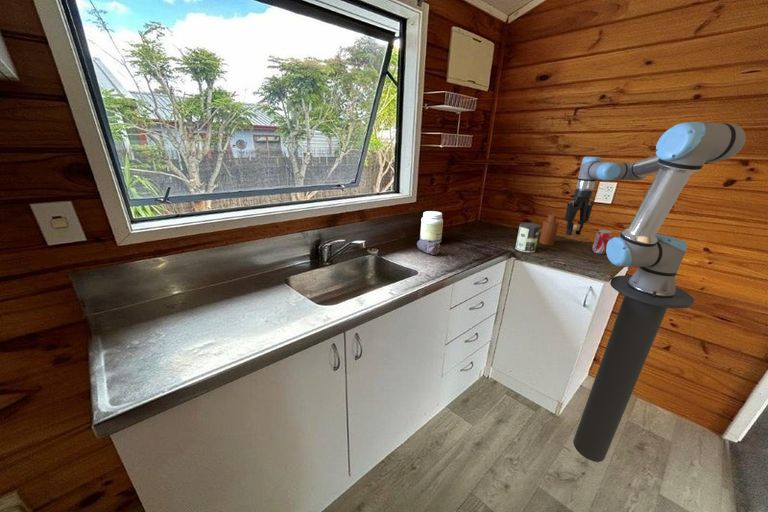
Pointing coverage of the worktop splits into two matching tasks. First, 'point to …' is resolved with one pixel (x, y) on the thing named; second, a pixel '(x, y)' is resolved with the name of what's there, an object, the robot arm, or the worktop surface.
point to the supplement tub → (431, 226)
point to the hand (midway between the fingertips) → (572, 234)
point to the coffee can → (527, 237)
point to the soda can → (601, 241)
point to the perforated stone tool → (428, 246)
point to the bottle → (549, 230)
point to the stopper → (575, 229)
